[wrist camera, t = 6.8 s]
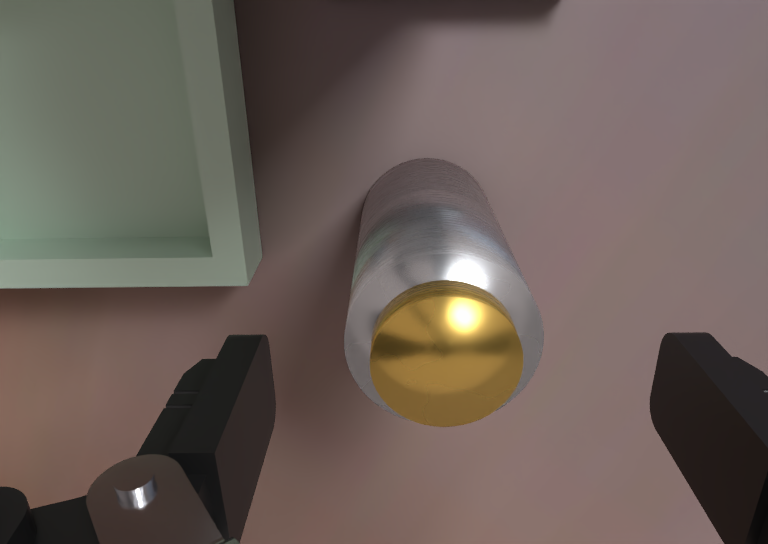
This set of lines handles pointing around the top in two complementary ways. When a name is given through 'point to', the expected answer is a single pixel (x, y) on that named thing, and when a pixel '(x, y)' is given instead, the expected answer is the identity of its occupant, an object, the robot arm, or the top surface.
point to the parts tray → (124, 146)
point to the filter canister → (438, 300)
